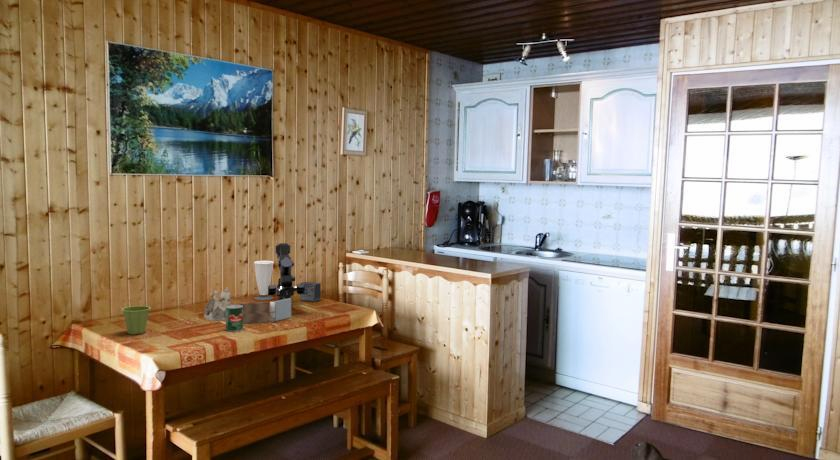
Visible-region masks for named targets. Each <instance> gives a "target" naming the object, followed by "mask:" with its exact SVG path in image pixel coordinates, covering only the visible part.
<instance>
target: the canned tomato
mask: <svg viewBox="0 0 840 460" xmlns="http://www.w3.org/2000/svg"><path fill="white" fill-rule="evenodd" d="M226 330H227V331H226ZM239 330H240V331H243V330H244V324H243V305H239V304H231V305H228V306H226V320H225V331H226V332H238V331H239ZM240 331H239V332H240Z"/></svg>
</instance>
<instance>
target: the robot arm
mask: <svg viewBox="0 0 840 460" xmlns="http://www.w3.org/2000/svg"><path fill="white" fill-rule="evenodd" d="M274 247H275V248H274V251H275V252H274V253H275V255H276V258H277V259H278V261H277V268H278V269H279V273H280V274H279V275H280V276H279V278H278V281H277V285H276V284H270V285H269V286H268V295H267V296H275V295H276V296H277V297H278V300H277V301H279V300H284V299H289V298H291V299H292V296H293V297H294V294H295V292H296V294H297V295H300V294H305V285H304V284H300V283H299V284H296V286H294V285H293V282H296V274H292V270H293V267H294V266H295V263H294V262H293V260H292V257H291V256H290V254H291V245H289V244H288V243H286V242H284V243H283V242H281V243H278V244H276V245H275V246H274ZM291 307H293V304H291Z"/></svg>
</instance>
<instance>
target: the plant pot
mask: <svg viewBox="0 0 840 460" xmlns="http://www.w3.org/2000/svg"><path fill="white" fill-rule="evenodd" d="M150 310H151V307H150V306H147V305H132V306H126V307H123V308H121V311H122V313H123V316H124V319H125V320H124V322H125V326H126V331H127V334H129V335H138V334H140V335H143V334H145V332H146V328H147V323H148V317H149V312H150Z"/></svg>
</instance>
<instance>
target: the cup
mask: <svg viewBox="0 0 840 460" xmlns="http://www.w3.org/2000/svg"><path fill="white" fill-rule="evenodd" d="M274 264H275V262H274V261H272V260H256V261H254V262H253V265H254V275H255V279H256V285H257V289H258V294H259V295H258V296H254V297H253V299H254V300H257V301H270V300H273V299H274V298H275V297H274V296H273V295H268V286H269V285H271V284H272V283H271V281H272V275H273V268H274Z"/></svg>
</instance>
